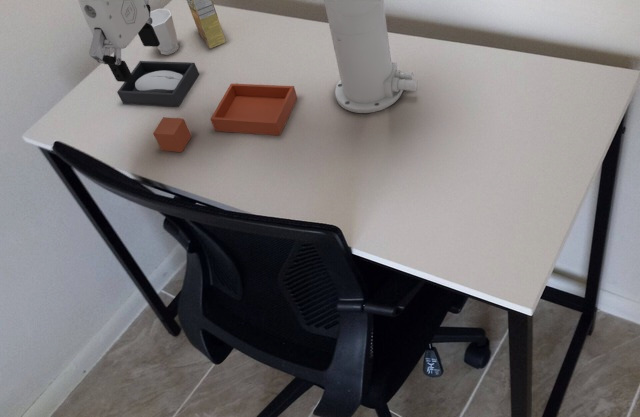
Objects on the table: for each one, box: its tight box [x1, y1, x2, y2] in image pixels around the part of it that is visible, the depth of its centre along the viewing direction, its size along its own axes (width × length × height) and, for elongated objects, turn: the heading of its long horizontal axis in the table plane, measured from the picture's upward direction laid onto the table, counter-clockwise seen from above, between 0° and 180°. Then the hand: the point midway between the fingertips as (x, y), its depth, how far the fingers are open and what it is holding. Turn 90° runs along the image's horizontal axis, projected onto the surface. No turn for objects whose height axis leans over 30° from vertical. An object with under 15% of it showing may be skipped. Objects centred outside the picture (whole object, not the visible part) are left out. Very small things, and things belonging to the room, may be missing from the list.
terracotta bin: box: [210, 83, 298, 136], centre depth 121 cm, size 13×10×3 cm
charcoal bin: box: [116, 60, 200, 108], centre depth 132 cm, size 13×10×3 cm
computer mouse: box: [135, 71, 183, 93], centre depth 132 cm, size 6×10×3 cm, turn 85°
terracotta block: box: [152, 116, 192, 153], centre depth 119 cm, size 4×4×4 cm
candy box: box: [186, 0, 227, 50], centre depth 137 cm, size 9×4×15 cm, turn 25°
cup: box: [150, 8, 180, 56], centre depth 140 cm, size 7×10×8 cm
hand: (139, 62), depth 111 cm, fingers open, 9 cm apart
